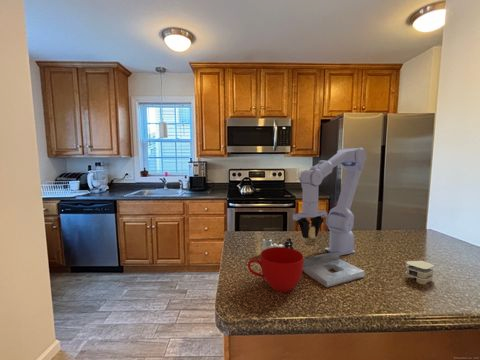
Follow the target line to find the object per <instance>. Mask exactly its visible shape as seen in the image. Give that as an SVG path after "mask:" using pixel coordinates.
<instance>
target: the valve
mask: <svg viewBox="0 0 480 360" xmlns="http://www.w3.org/2000/svg"><path fill="white" fill-rule="evenodd" d="M293 243H294V242H293V241H292V238H291V237H290V238H286V240H285V242H284V244H282V243H281V244H277V243H276V242H275V243H273V241H272V238H263V239H262V245H261V250H262V251H263V250H265V249H268V248H274V247H284V248H290V249H294V247H293Z"/></svg>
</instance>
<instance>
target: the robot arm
mask: <svg viewBox="0 0 480 360" xmlns="http://www.w3.org/2000/svg"><path fill="white" fill-rule="evenodd" d="M366 160H367V153H366V150H365V148H363V147H357V148H356V147H353V148H352V147H351V148H340V149H339V150H336V154H334V155H332V157H330V158H329V159H328V160H324V159H323V160H318V163H317V164H315V165H314V166H313V165H312V166H311V167H310V169H304V170H303V171H302V172H301V173H300V176H298V179H299V180H298V181H299V182H300V184H301V189H302V211H301V212H298V213H292V221H296V222H297V224H298V226H299V228H300V231H301V236H302V238H303V239H304V238H307V237H308V228H309V224H311V225H315V226H316V230H315V238H316V237H318V234H319V230H320V228H321V226H322V224H323V222H325V225H326V227H328V230H329V247H325V248H324V250H326V251H327V252H328V253H330V252H335V251H338V252H340V253H339V257H340V256H345V255H348V254H349V255H350V254H353V253H356V250H355V236H354V233H353V231H352V230H353V229H354V225H355V224H354V221H355V215H354V214H353V212H352V211H351V207H352V204H353V200H354V196H355V194H356V190H357V186H358V184H359V180H360V177H361V174H362V171H363V170H364V167H365V164H366ZM339 165H340V166H341V167H342V168H343V169H344V170H345V171H346V175H345V176H344V177H345V178H344V181H343V184H342V188H341V190H340V193H339V197H338V201H337V203H336V206H334V207H333V208H331V209H330V210H329V213H328V212H327V211H325V210H319V186H320V185H321V184H322V182H323V180H324V179H325V178H326V177H327V176H329V174H332V172H333V169H334V168H335V167H337V166H339ZM324 218H325V220H324ZM308 219H310V220H308Z"/></svg>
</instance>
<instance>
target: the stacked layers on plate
mask: <svg viewBox="0 0 480 360" xmlns="http://www.w3.org/2000/svg"><path fill="white" fill-rule="evenodd" d="M405 263H406V265H405V268H406V271H405V272H404V273H405V274H406V275H407V276H410V277H412V278H414V279H416V283H418V284H420V285H427V283H429V282H432V281H433V278H434V277H435V275H434V271H436V269H435V268H433V267H434V266H436V265H435V264H433V263H430V262H427V261H424V260H407V261H405Z"/></svg>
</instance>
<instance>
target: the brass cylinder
mask: <svg viewBox="0 0 480 360" xmlns="http://www.w3.org/2000/svg"><path fill="white" fill-rule="evenodd" d="M315 230H316V226H315V225H311V223H310V224H309V228H308V237H307V238H304V237H303V240H304V241H303V242H304V243H303V244H304V245H306V246H316V237H315Z"/></svg>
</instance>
